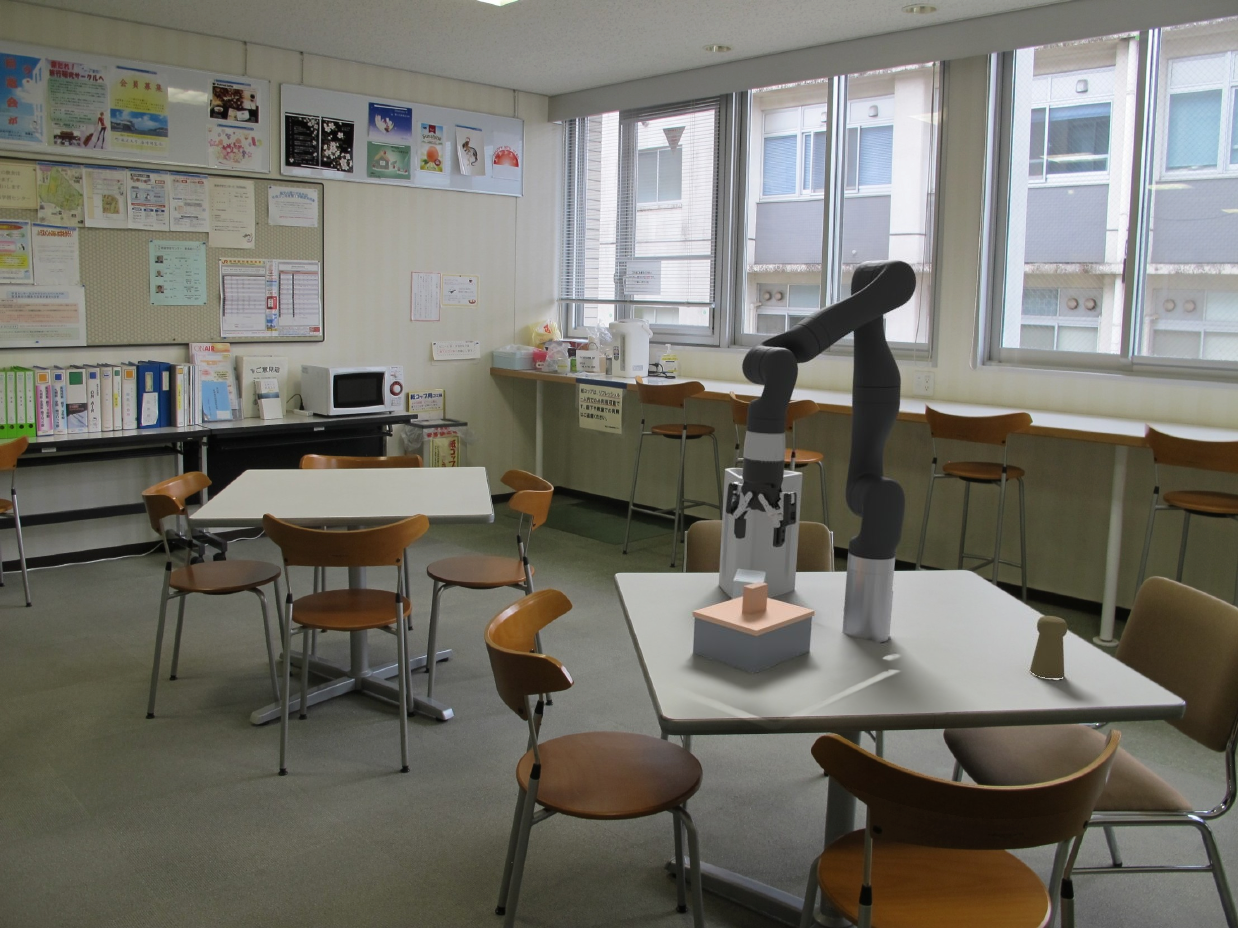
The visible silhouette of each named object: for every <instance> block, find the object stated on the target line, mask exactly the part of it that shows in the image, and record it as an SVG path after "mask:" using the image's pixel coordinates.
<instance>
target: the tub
mask: <svg viewBox="0 0 1238 928" xmlns="http://www.w3.org/2000/svg"><path fill="white" fill-rule="evenodd" d="M812 622H813V616H812V617H809V618H806V619H803V620H801V621H798V622H795V623H792V624H789V625H786V626H783V627H781V628H778V629H775V630H772V631H769V632H766V633H764V634H761V635H758V636H755V635H751V634H748V633H745V632H741V631H738V630H735V629H732V628H728V627H725V626H722V625H719V624H715V623H712V622H709V621H706V620H702V619H699V618H696V617H694V623H693V624H694V625H693V644H692V645H693V646H692V647H693V648H692V653H693V654H695V655H698V656H702V657H704V658H708V659H711V660H714V661H716V662H719V663H722V664H724V665H728V666H731V667H734V668H736V669H739V670H743V671H746V672H748V673H751V674H755V673H758V672H761V671H763V670H766V669H768V668H771V667H773V666H776V665H778V664H781V663H783V662H786V661H789V660H791V659H794V658H796V657H798V656H801V655H804V654H805V653H808V652H810V651H811V637H812Z"/></svg>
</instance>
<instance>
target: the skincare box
mask: <svg viewBox="0 0 1238 928" xmlns="http://www.w3.org/2000/svg"><path fill="white" fill-rule="evenodd" d="M765 577H766V572H763V571H755V570H746V569H737V572H736V575H735V577H734V580H733V589H732V599H736V598H739V597H742V596H743V587H744V586H746V585H750V584H753V583H757V582H762V583H765ZM732 599H731V600H732Z"/></svg>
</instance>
